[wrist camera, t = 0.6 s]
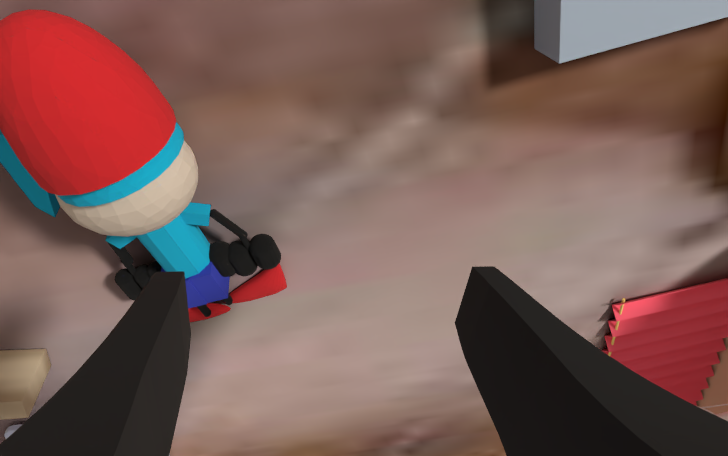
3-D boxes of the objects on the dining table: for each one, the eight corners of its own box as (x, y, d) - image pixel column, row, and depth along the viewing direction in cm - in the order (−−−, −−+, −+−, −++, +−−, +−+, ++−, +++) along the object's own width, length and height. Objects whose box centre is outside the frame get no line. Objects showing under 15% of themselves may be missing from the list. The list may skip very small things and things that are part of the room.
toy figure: (299, 256, 26) (150, -50, 15) (304, 338, 22) (115, 19, 11) (163, 289, 26) (-78, 16, 15) (147, 374, 23) (-177, 100, 12)
